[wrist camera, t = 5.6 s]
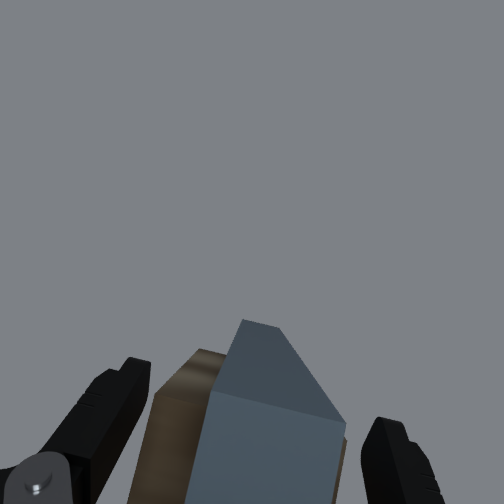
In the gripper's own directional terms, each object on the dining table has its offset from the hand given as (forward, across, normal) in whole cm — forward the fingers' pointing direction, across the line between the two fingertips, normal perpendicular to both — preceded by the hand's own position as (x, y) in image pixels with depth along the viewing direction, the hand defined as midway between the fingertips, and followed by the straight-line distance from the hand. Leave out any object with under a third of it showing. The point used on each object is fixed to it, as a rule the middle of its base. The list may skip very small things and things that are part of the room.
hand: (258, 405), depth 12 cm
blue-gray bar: (+6, 0, -6) cm, 8 cm away
